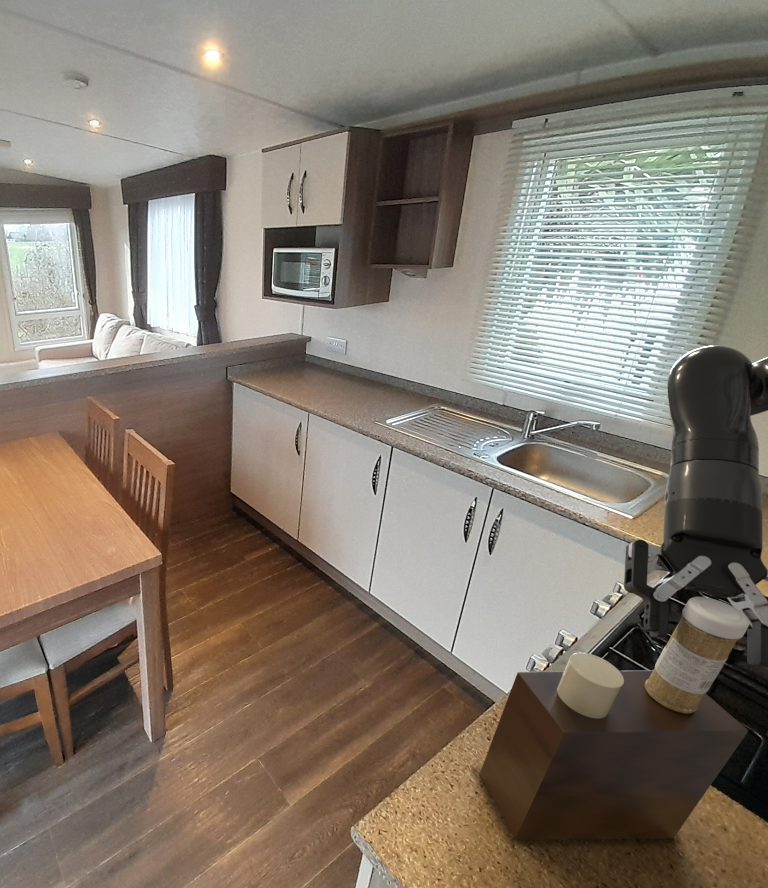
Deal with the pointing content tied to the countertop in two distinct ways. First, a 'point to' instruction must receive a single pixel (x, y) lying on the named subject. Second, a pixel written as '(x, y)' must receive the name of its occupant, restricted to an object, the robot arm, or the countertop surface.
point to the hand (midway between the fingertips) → (707, 651)
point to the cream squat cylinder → (590, 685)
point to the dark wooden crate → (603, 762)
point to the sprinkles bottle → (695, 653)
